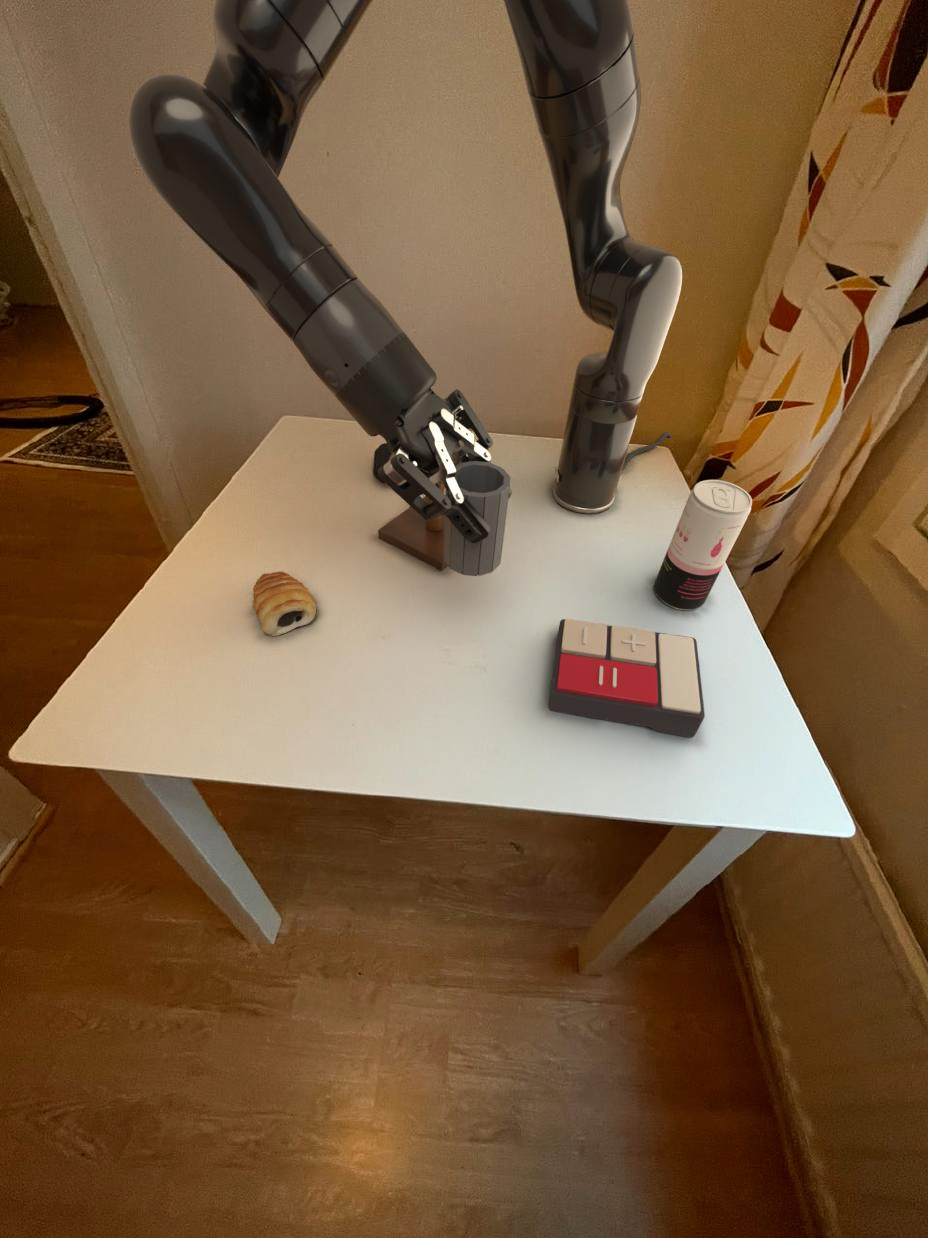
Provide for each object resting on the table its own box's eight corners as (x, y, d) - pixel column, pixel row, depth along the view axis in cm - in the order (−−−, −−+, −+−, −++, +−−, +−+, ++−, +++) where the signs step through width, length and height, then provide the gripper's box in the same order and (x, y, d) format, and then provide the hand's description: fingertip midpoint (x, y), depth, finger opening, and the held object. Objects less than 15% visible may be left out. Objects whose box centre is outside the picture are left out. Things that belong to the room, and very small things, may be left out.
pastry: (244, 591, 69) (236, 568, 66) (297, 575, 71) (293, 551, 68) (266, 642, 63) (259, 619, 60) (324, 622, 66) (319, 599, 63)
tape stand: (427, 502, 83) (427, 451, 77) (488, 531, 79) (493, 479, 73) (378, 538, 77) (373, 485, 71) (441, 571, 73) (443, 518, 67)
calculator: (561, 613, 63) (698, 632, 61) (556, 638, 66) (687, 658, 64) (551, 689, 56) (708, 714, 54) (547, 714, 59) (695, 739, 57)
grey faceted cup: (465, 532, 58) (470, 454, 51) (511, 554, 56) (522, 475, 49) (432, 560, 55) (433, 480, 48) (480, 584, 53) (487, 504, 46)
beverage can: (702, 582, 74) (750, 484, 63) (706, 616, 69) (757, 517, 59) (652, 573, 75) (690, 474, 64) (652, 606, 70) (693, 506, 59)
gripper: (349, 367, 38) (500, 548, 44) (431, 303, 47) (545, 460, 53) (294, 424, 43) (437, 580, 49) (378, 357, 52) (489, 494, 58)
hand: (493, 517), depth 51 cm, fingers closed on grey faceted cup, 5 cm apart
